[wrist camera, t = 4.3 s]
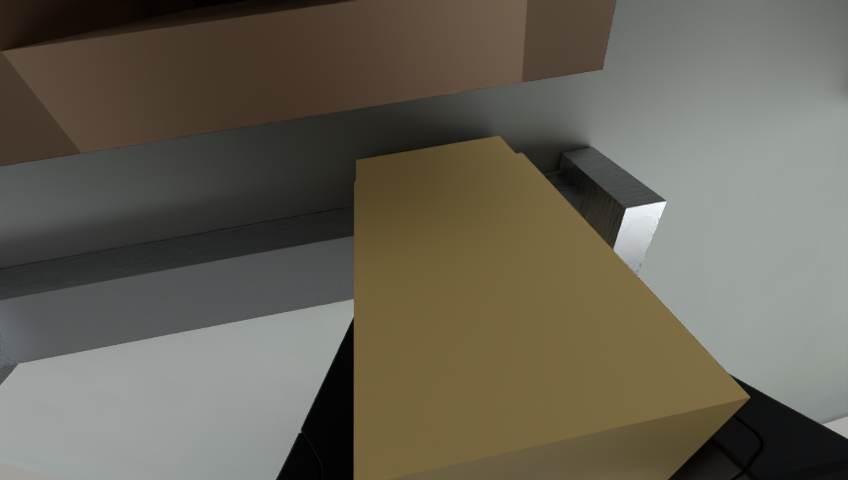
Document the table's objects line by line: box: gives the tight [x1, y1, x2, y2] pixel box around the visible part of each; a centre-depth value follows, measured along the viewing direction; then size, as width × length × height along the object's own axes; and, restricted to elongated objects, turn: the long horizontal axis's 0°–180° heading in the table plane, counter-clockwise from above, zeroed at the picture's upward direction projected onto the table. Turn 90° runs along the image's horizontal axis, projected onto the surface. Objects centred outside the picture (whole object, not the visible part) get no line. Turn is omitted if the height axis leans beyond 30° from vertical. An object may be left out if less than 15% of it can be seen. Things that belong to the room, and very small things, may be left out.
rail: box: [0, 147, 667, 385], centre depth 10 cm, size 20×4×3 cm, turn 96°
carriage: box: [354, 136, 751, 480], centre depth 8 cm, size 4×6×8 cm, turn 6°
